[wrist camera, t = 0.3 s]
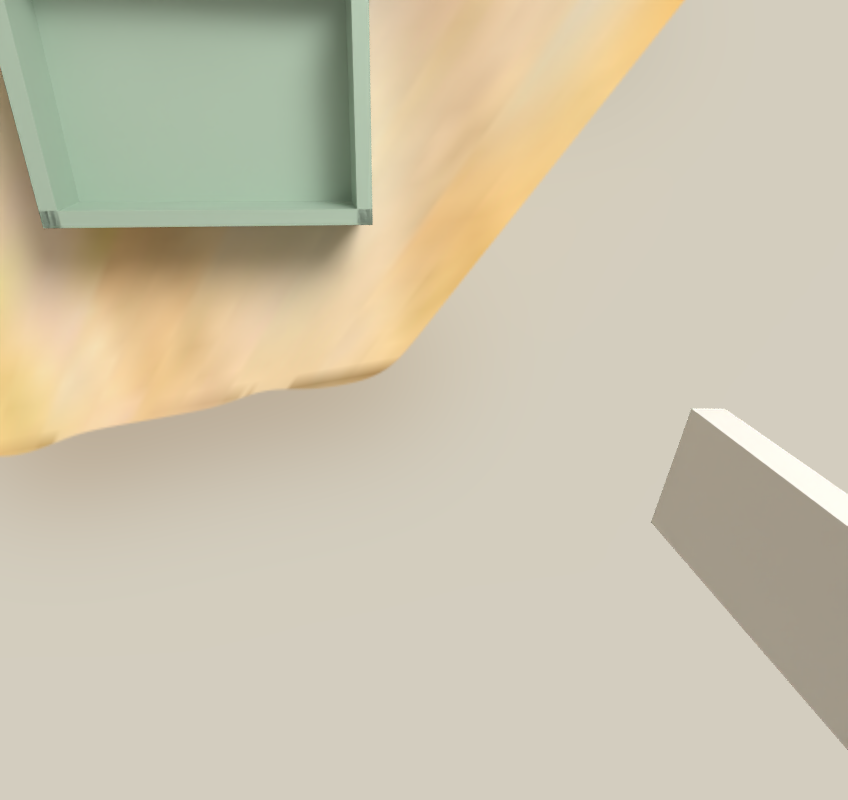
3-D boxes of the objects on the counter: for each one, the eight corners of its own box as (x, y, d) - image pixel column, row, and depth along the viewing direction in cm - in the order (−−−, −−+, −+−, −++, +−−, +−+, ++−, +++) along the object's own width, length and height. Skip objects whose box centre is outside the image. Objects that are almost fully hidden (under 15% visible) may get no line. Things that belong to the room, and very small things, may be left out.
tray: (14, -20, 26) (-28, -41, 23) (359, 1, 29) (368, -13, 26) (71, 215, 31) (43, 228, 28) (364, 213, 34) (372, 224, 31)
